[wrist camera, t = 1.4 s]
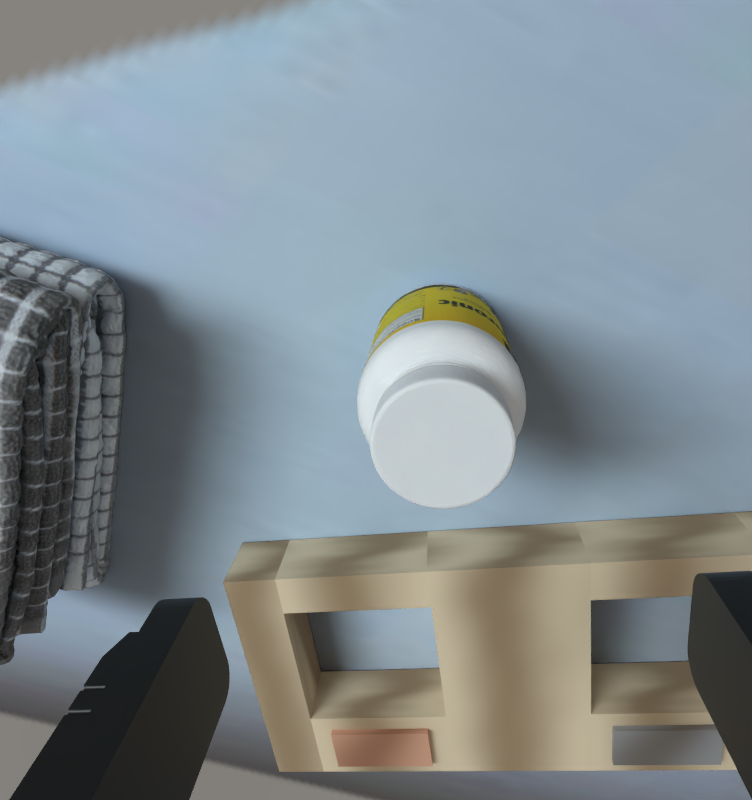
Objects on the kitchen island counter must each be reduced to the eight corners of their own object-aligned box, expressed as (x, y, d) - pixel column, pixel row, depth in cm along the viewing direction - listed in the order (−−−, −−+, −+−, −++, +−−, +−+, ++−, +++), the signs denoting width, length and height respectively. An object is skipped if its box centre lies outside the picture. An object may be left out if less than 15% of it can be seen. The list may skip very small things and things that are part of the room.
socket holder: (793, 508, 26) (840, 555, 23) (761, 715, 31) (797, 775, 28) (242, 542, 30) (221, 586, 27) (291, 722, 35) (278, 776, 32)
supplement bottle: (529, 351, 24) (584, 465, 15) (429, 424, 26) (426, 564, 17) (449, 251, 23) (458, 312, 14) (349, 334, 25) (301, 435, 16)
